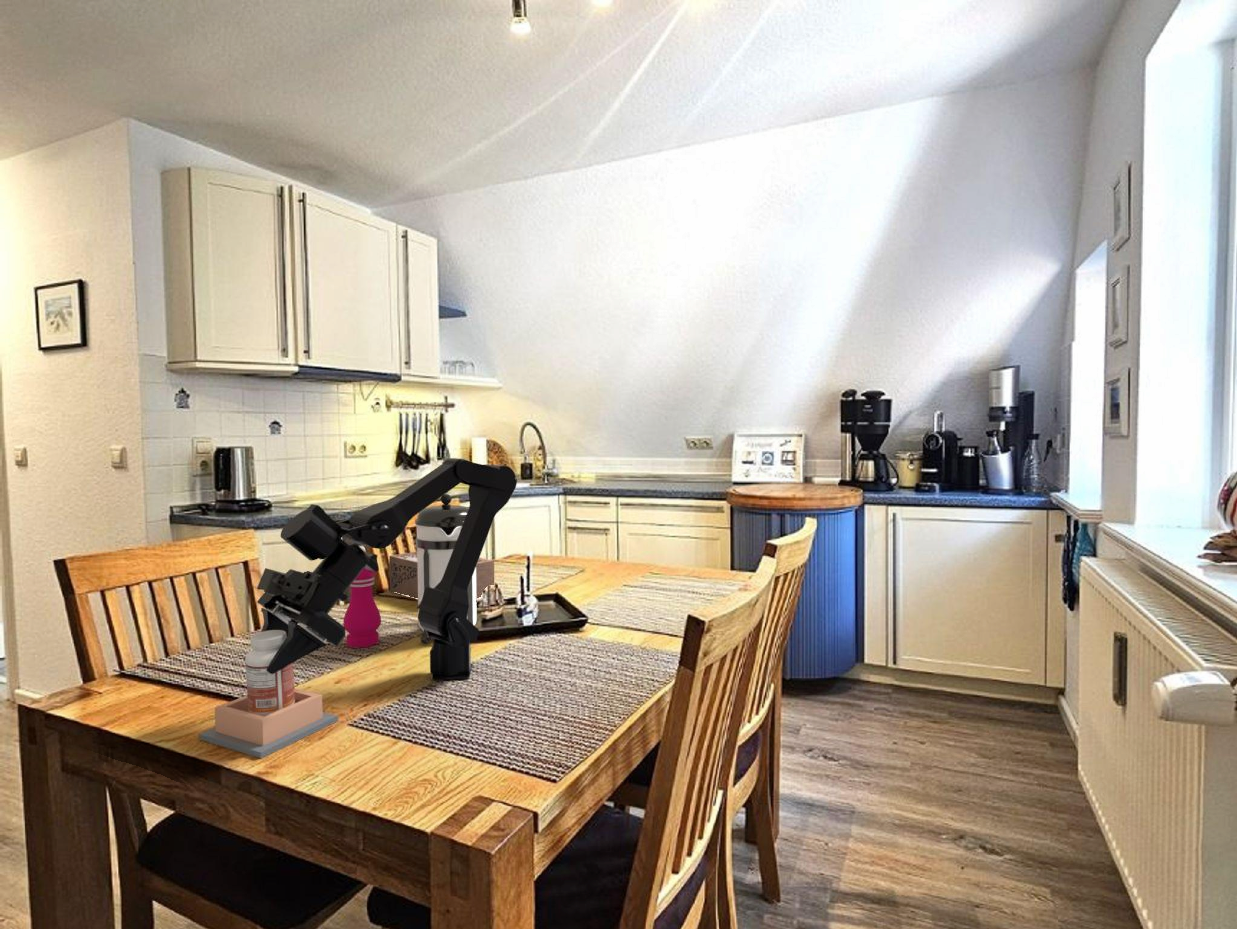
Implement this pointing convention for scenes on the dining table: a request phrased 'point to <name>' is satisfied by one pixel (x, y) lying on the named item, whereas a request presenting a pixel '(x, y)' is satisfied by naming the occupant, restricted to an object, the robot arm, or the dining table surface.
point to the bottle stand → (267, 725)
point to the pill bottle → (268, 675)
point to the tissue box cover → (407, 574)
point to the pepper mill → (362, 612)
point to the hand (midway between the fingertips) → (260, 666)
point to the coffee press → (440, 549)
